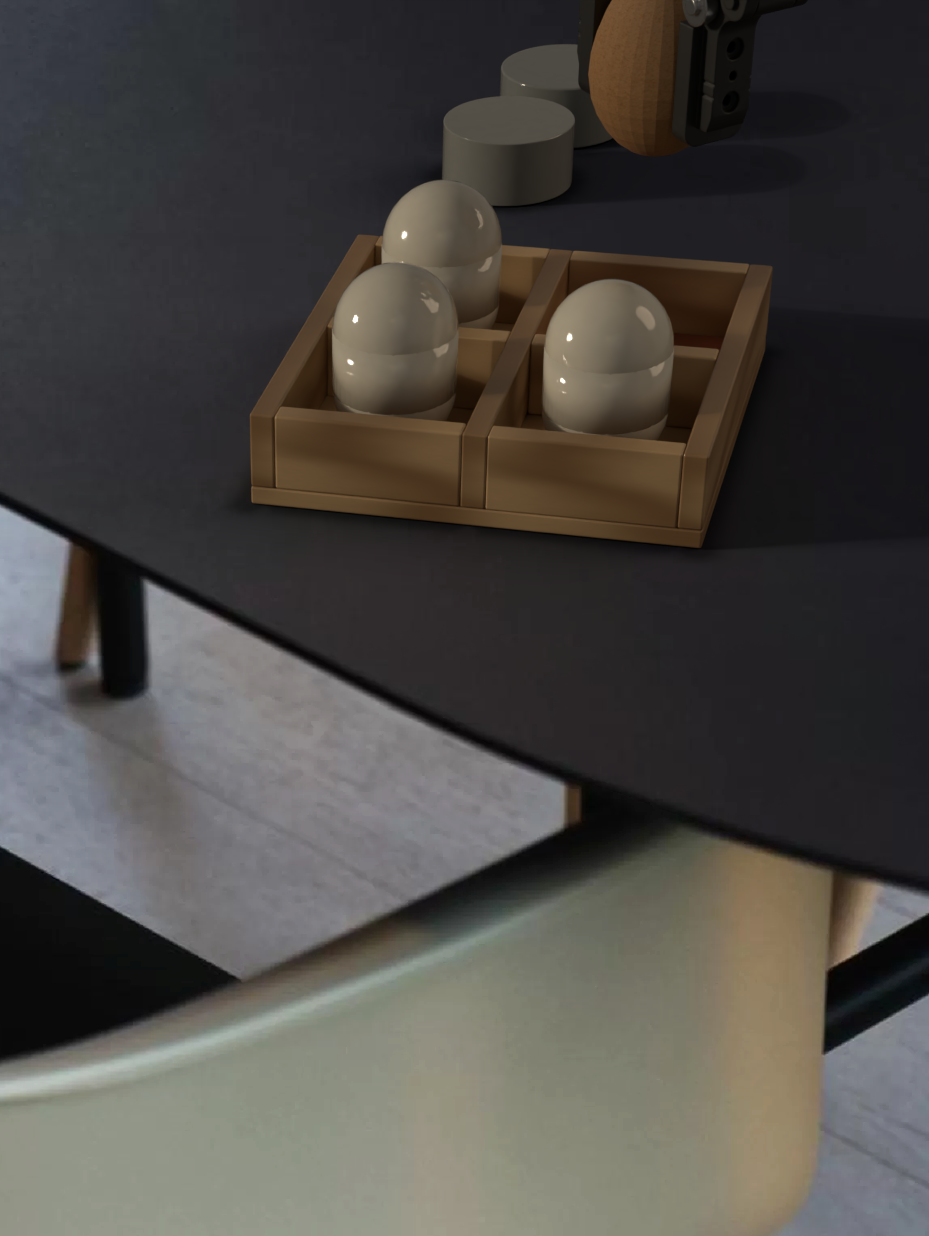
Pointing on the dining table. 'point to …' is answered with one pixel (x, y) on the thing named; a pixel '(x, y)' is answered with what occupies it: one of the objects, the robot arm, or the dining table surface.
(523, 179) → the grey short cylinder
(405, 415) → the cream egg
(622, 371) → the cream egg
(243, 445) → the dining table surface
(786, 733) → the dining table surface
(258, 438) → the egg tray
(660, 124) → the egg
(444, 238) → the cream egg
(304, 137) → the dining table surface
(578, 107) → the grey short cylinder
